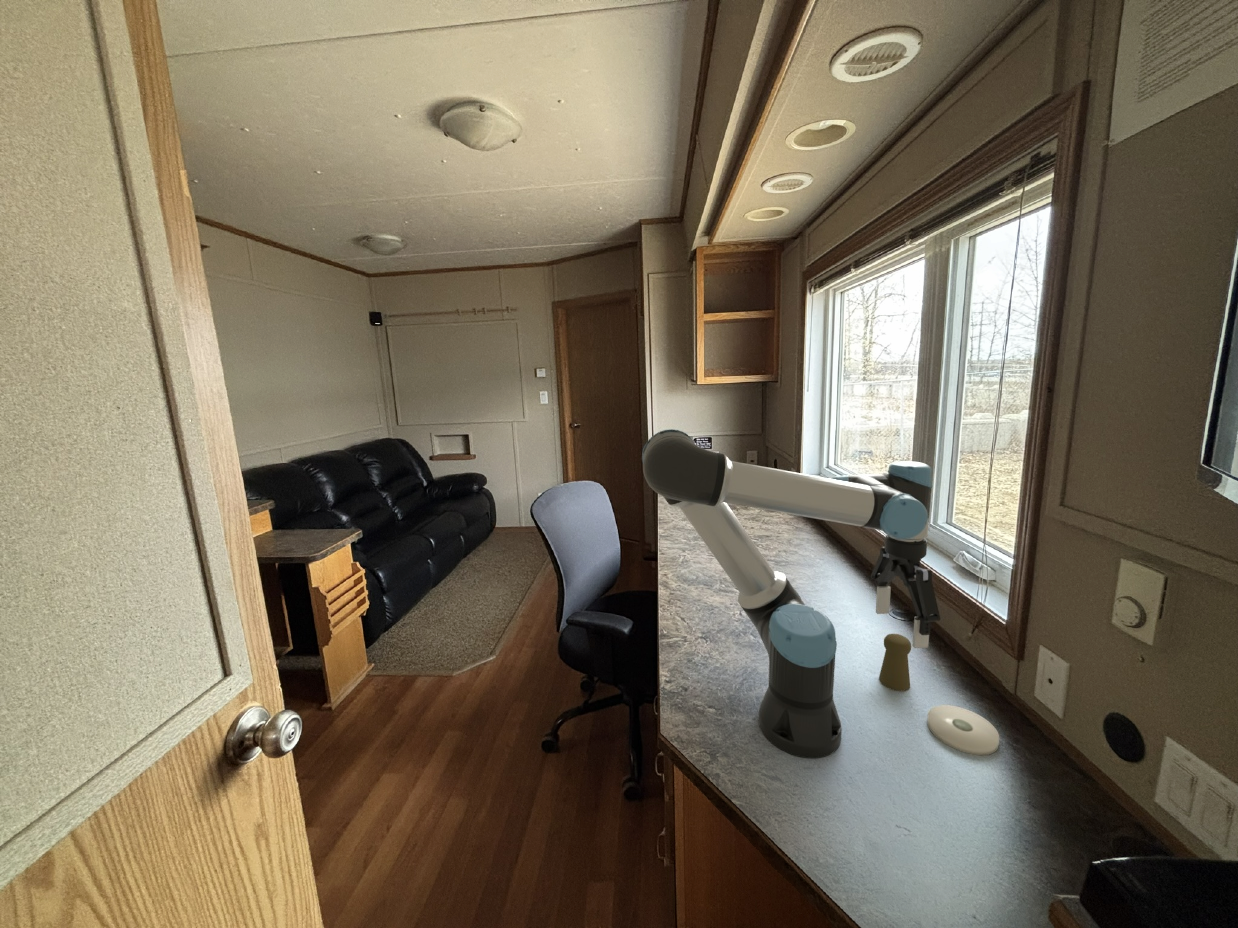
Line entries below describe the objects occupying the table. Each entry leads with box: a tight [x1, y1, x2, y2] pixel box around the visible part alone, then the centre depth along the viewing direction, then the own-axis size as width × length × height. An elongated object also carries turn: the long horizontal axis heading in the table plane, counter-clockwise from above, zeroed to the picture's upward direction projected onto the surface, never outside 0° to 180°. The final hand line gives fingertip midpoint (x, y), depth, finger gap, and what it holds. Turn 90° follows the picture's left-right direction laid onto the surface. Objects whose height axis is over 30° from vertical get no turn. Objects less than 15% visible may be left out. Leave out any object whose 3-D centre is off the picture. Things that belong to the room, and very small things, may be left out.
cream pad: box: [926, 704, 1000, 756], centre depth 89 cm, size 11×11×2 cm
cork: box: [878, 633, 912, 692], centre depth 103 cm, size 6×6×11 cm
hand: (900, 628), depth 102 cm, fingers open, 13 cm apart
